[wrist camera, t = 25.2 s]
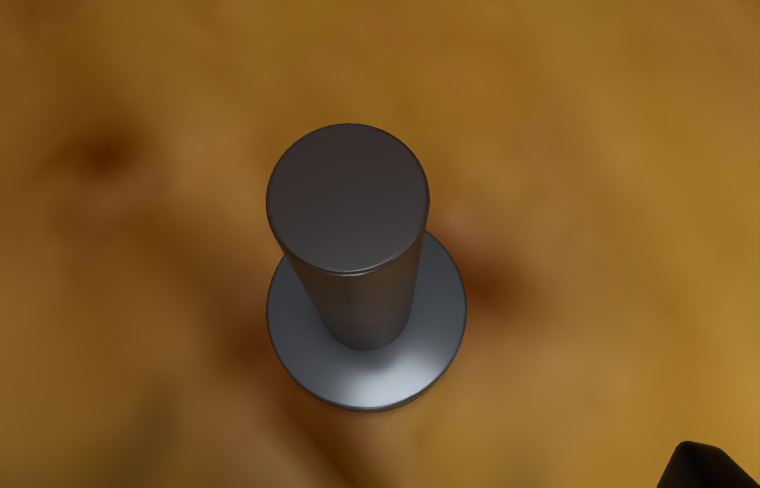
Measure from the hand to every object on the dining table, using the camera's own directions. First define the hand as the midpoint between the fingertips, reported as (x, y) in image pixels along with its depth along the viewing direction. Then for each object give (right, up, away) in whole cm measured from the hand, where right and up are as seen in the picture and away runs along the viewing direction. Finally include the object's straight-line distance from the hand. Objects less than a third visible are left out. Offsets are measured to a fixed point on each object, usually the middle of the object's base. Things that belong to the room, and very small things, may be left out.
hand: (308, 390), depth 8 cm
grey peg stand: (+1, 0, +10) cm, 10 cm away
